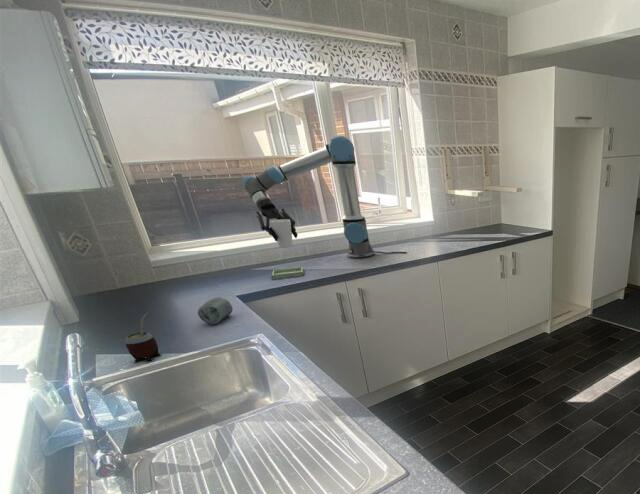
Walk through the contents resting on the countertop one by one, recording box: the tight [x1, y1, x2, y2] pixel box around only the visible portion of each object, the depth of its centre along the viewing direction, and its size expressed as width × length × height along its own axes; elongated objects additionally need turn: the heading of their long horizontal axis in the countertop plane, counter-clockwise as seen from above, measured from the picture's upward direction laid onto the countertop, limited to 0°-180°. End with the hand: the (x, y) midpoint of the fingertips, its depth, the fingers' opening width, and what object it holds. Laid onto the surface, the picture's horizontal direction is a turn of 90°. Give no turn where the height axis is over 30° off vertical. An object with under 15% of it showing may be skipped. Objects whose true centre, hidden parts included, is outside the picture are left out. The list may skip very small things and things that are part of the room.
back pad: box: [271, 266, 304, 280], centre depth 220 cm, size 14×12×2 cm
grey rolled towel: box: [197, 296, 234, 326], centre depth 160 cm, size 14×10×10 cm
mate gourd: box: [124, 311, 161, 363], centre depth 129 cm, size 8×8×15 cm
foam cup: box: [269, 219, 294, 249], centre depth 214 cm, size 10×9×13 cm
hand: (286, 237), depth 213 cm, fingers closed on foam cup, 9 cm apart
